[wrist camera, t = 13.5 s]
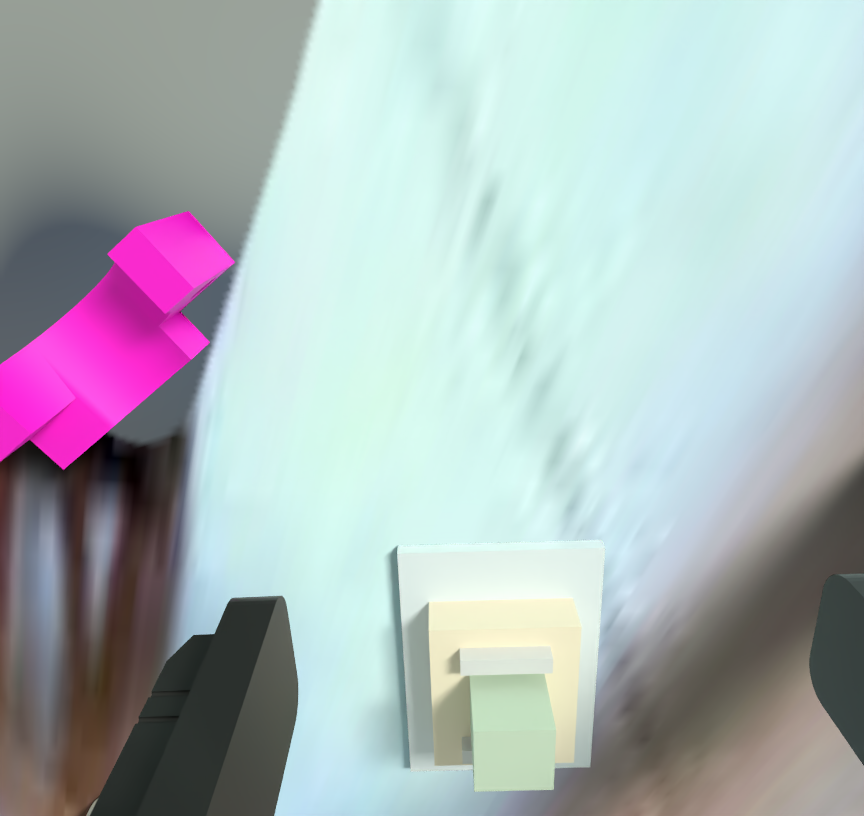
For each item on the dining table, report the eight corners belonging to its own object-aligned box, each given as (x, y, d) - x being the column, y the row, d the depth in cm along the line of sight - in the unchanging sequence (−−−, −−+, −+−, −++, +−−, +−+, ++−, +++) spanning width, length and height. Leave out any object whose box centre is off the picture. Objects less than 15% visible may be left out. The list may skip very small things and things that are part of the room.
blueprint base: (601, 539, 47) (621, 585, 42) (587, 756, 54) (602, 817, 49) (397, 545, 47) (393, 592, 42) (411, 760, 54) (408, 821, 50)
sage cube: (543, 669, 46) (556, 729, 41) (541, 726, 48) (553, 789, 43) (469, 671, 46) (473, 731, 41) (470, 728, 48) (474, 791, 43)
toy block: (98, 438, 44) (36, 494, 38) (21, 367, 43) (-59, 412, 36) (265, 295, 41) (230, 327, 34) (188, 210, 39) (136, 227, 32)
